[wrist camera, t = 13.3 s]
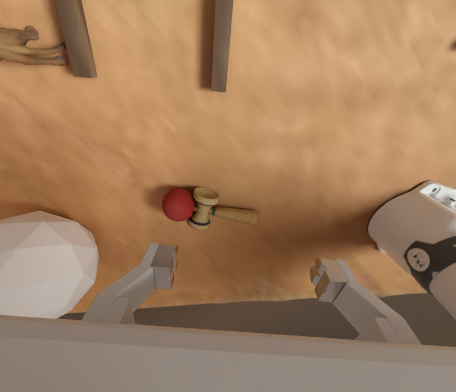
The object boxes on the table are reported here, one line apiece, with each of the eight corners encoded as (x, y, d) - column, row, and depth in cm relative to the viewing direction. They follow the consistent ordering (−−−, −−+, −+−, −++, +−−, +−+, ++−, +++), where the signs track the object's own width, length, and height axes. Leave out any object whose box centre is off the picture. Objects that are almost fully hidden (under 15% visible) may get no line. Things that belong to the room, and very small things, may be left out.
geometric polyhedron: (76, 192, 47) (15, 186, 28) (128, 263, 50) (104, 301, 31) (-16, 242, 42) (-166, 276, 23) (47, 317, 45) (-41, 403, 26)
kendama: (260, 190, 42) (166, 174, 36) (267, 215, 37) (162, 200, 32) (245, 215, 47) (162, 203, 41) (250, 239, 42) (157, 230, 37)
